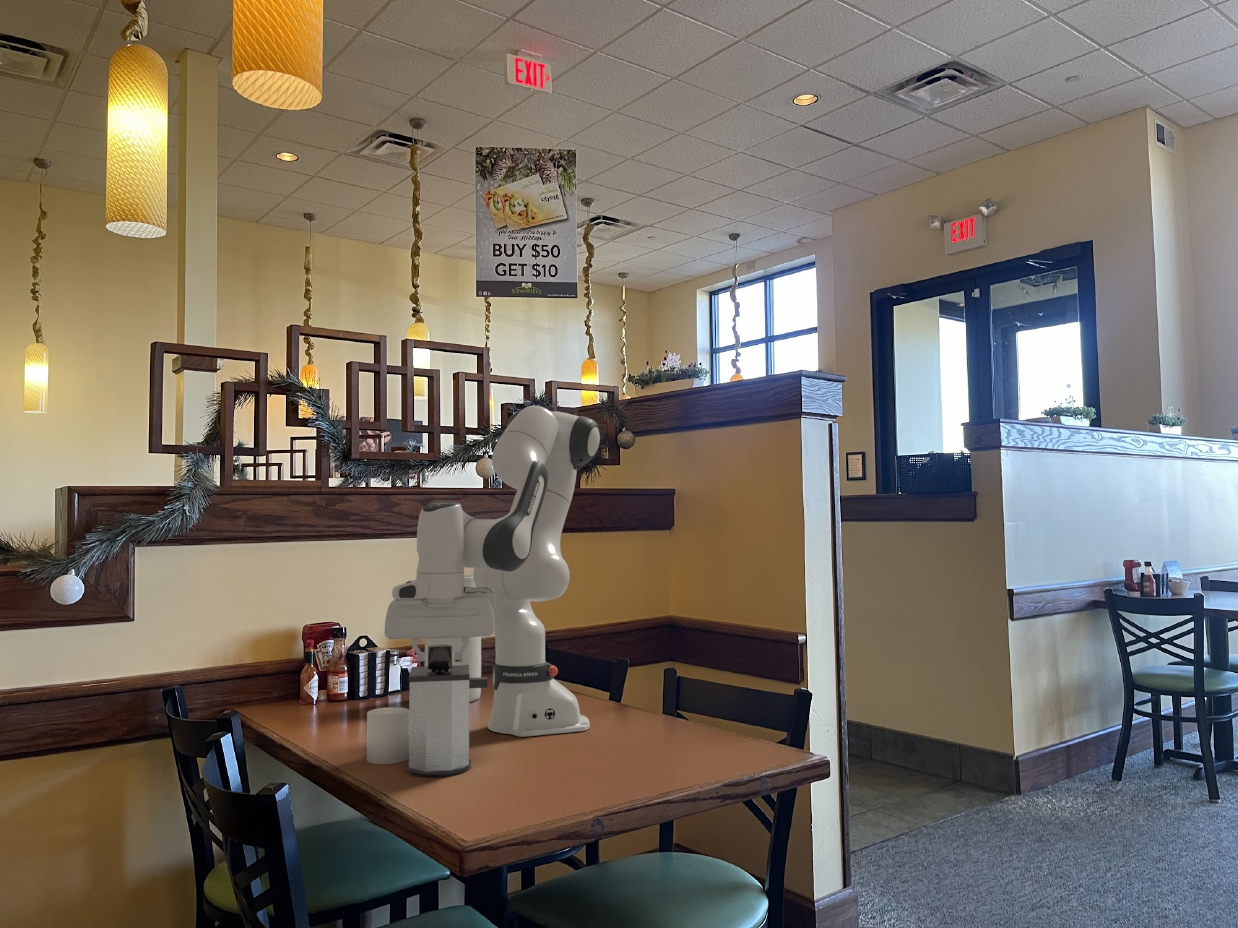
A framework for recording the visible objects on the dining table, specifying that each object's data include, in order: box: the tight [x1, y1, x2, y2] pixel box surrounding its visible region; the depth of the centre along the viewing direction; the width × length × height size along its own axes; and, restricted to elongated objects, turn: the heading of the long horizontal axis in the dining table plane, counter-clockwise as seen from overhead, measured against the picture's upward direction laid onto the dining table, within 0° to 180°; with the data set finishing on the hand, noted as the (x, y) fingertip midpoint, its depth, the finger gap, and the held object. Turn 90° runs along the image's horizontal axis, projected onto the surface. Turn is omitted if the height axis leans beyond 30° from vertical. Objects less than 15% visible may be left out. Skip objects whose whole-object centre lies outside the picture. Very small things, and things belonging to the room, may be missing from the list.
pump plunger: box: [428, 645, 452, 672], centre depth 168 cm, size 4×4×21 cm
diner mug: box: [365, 706, 409, 765], centre depth 177 cm, size 8×11×9 cm
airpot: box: [406, 665, 489, 778], centre depth 168 cm, size 15×12×18 cm
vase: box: [424, 573, 482, 703], centre depth 232 cm, size 14×14×32 cm
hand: (439, 661), depth 169 cm, fingers open, 5 cm apart
